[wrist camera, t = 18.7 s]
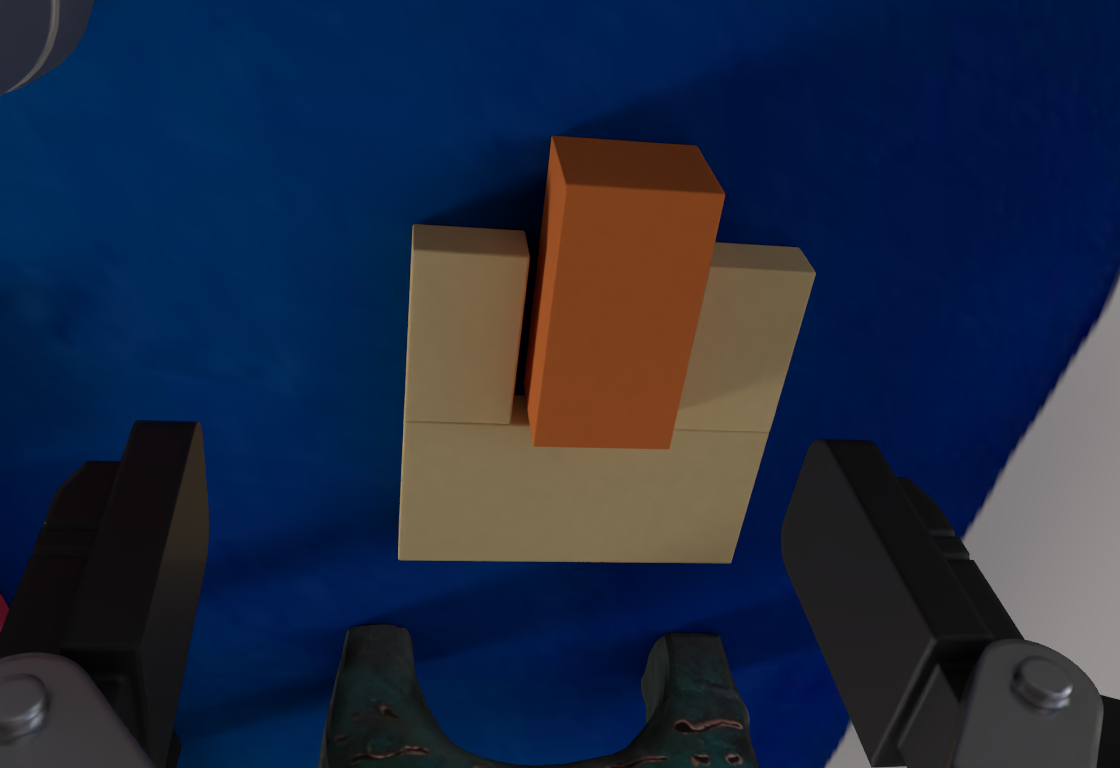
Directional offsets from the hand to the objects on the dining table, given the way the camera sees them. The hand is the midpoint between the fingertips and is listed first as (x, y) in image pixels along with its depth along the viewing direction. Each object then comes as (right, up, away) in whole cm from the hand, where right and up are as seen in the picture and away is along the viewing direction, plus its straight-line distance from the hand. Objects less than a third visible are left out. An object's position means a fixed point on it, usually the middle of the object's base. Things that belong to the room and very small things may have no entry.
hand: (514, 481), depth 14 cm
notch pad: (+2, +1, +27) cm, 27 cm away
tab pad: (+2, +5, +24) cm, 24 cm away
